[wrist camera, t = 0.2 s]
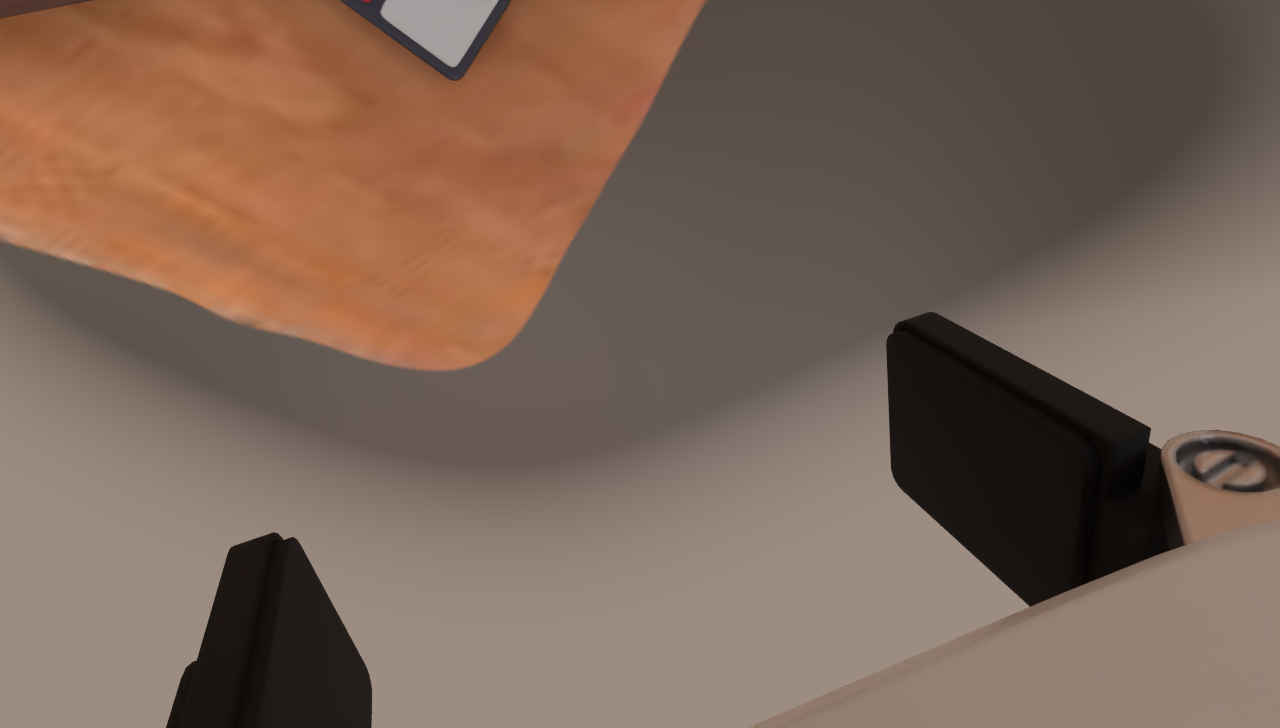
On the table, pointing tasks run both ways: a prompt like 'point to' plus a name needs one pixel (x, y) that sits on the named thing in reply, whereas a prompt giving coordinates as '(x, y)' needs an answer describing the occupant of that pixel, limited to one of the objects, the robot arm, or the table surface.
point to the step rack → (31, 6)
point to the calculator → (436, 28)
